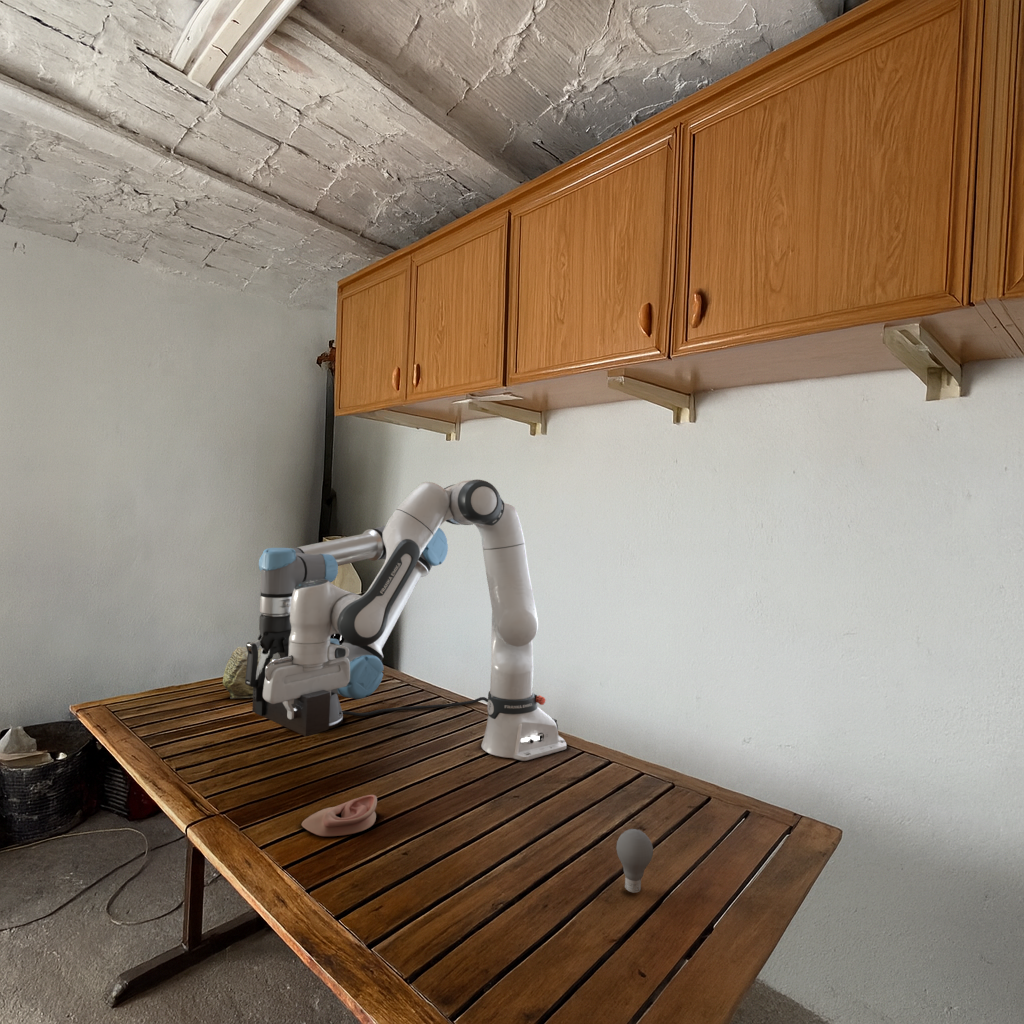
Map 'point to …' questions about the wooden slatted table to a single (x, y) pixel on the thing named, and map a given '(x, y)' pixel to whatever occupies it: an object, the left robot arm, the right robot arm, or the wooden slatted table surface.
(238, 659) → the fossil
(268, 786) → the wooden slatted table surface
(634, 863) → the light bulb
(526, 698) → the right robot arm
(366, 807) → the anatomical model
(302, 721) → the box
